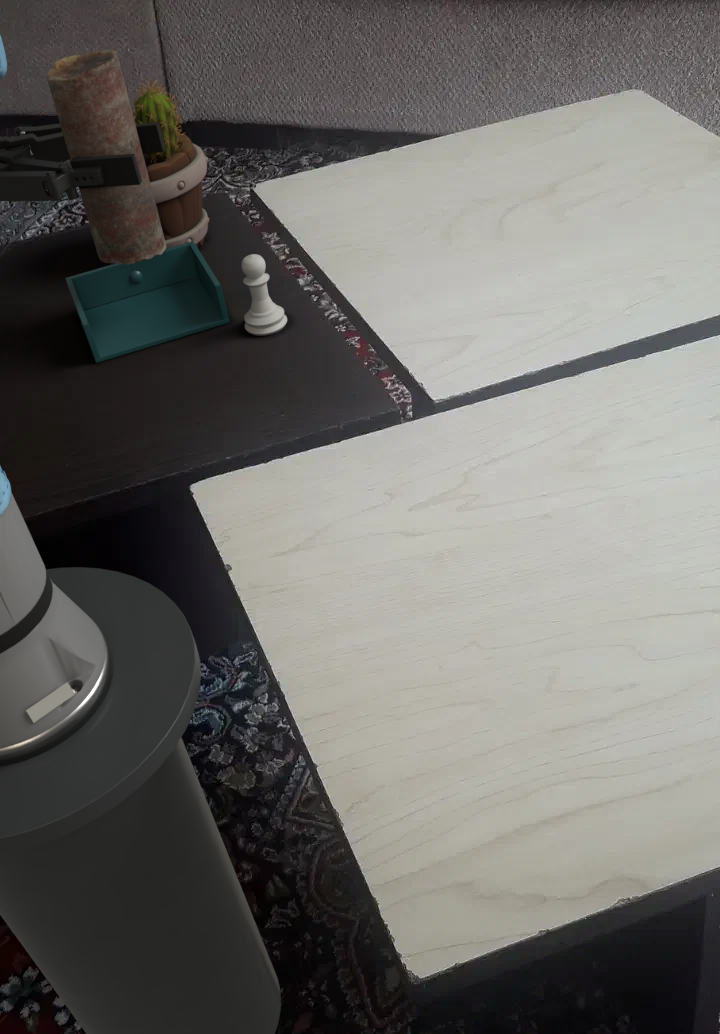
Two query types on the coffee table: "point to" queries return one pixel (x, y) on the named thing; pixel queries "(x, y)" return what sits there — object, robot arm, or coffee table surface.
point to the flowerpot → (174, 171)
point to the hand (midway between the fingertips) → (149, 152)
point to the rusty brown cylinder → (101, 132)
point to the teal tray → (147, 301)
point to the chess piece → (260, 299)
